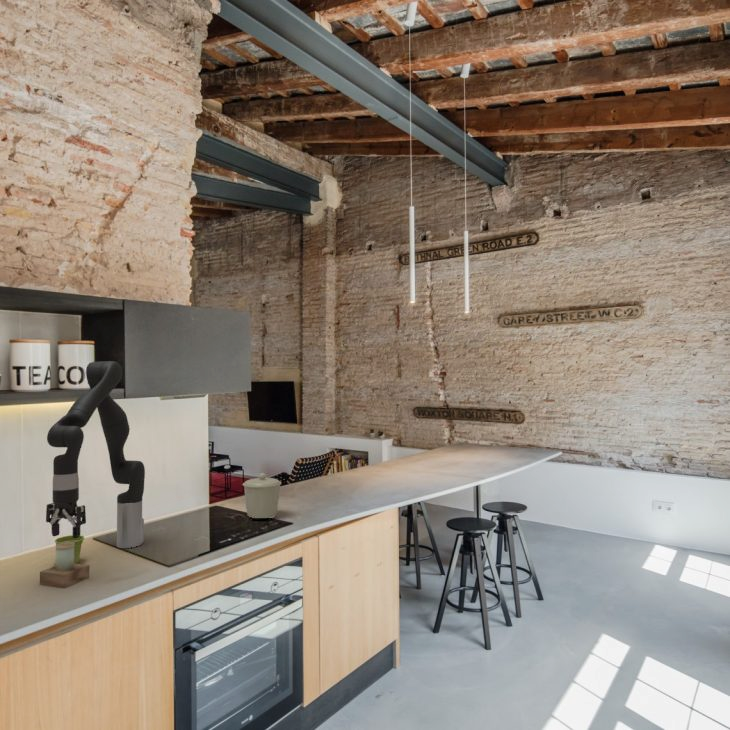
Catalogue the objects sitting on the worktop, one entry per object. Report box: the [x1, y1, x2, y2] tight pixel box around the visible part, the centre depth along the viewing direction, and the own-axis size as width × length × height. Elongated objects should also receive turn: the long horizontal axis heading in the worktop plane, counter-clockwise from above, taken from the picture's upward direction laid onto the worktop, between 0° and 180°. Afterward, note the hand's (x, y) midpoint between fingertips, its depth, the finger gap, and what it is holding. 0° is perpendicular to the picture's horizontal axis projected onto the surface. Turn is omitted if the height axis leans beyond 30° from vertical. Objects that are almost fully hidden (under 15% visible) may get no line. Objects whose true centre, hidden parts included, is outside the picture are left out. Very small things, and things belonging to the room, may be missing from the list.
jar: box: [55, 542, 75, 571], centre depth 179 cm, size 5×5×8 cm
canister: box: [242, 472, 282, 518], centre depth 259 cm, size 18×18×21 cm
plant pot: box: [54, 534, 85, 564], centre depth 196 cm, size 9×9×9 cm
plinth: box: [39, 563, 90, 589], centre depth 178 cm, size 10×10×4 cm
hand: (65, 536), depth 179 cm, fingers open, 8 cm apart
